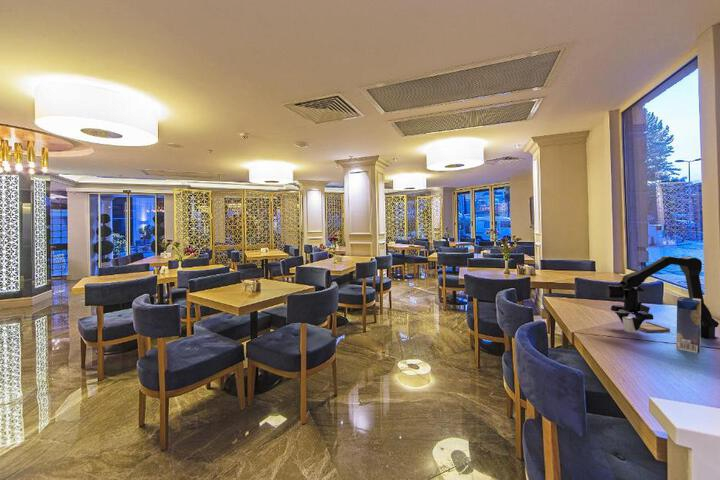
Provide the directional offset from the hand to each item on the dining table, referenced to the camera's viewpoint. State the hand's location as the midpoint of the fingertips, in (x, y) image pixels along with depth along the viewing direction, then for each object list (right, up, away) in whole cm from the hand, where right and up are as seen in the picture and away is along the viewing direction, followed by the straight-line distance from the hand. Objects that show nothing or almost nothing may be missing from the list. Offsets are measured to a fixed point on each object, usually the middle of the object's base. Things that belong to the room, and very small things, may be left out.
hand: (630, 328), depth 160 cm
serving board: (+12, -1, +3) cm, 12 cm away
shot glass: (0, -2, 0) cm, 2 cm away
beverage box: (+6, -2, -23) cm, 24 cm away
